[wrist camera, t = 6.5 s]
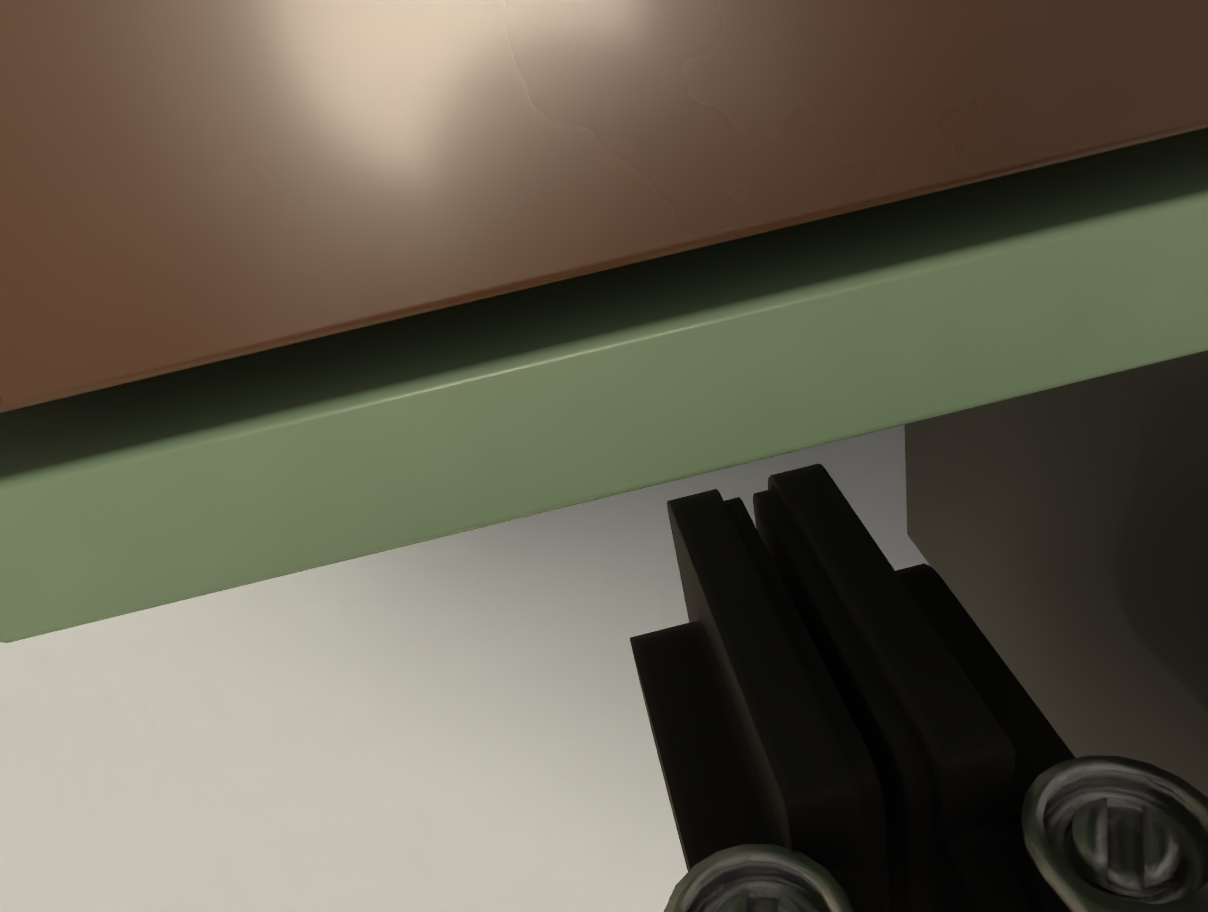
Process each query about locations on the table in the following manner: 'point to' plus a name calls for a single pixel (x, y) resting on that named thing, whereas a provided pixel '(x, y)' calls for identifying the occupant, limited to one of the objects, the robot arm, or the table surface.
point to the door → (723, 427)
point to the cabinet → (497, 147)
